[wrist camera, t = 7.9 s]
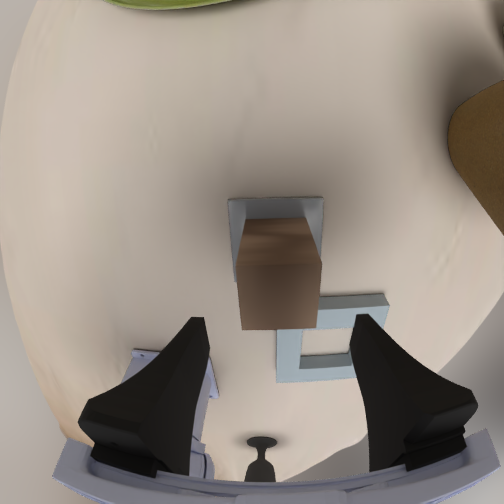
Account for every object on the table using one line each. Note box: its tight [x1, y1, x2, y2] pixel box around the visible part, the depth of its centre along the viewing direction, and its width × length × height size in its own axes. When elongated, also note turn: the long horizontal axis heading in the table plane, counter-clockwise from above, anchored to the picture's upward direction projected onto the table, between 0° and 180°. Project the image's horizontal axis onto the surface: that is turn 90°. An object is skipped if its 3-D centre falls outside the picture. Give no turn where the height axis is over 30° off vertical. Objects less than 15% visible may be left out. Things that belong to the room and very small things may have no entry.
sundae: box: [244, 437, 277, 482], centre depth 31 cm, size 7×7×15 cm
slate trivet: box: [228, 197, 324, 282], centre depth 22 cm, size 7×7×1 cm
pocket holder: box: [276, 294, 390, 383], centre depth 25 cm, size 10×10×2 cm
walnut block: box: [235, 218, 322, 330], centre depth 19 cm, size 4×4×7 cm
